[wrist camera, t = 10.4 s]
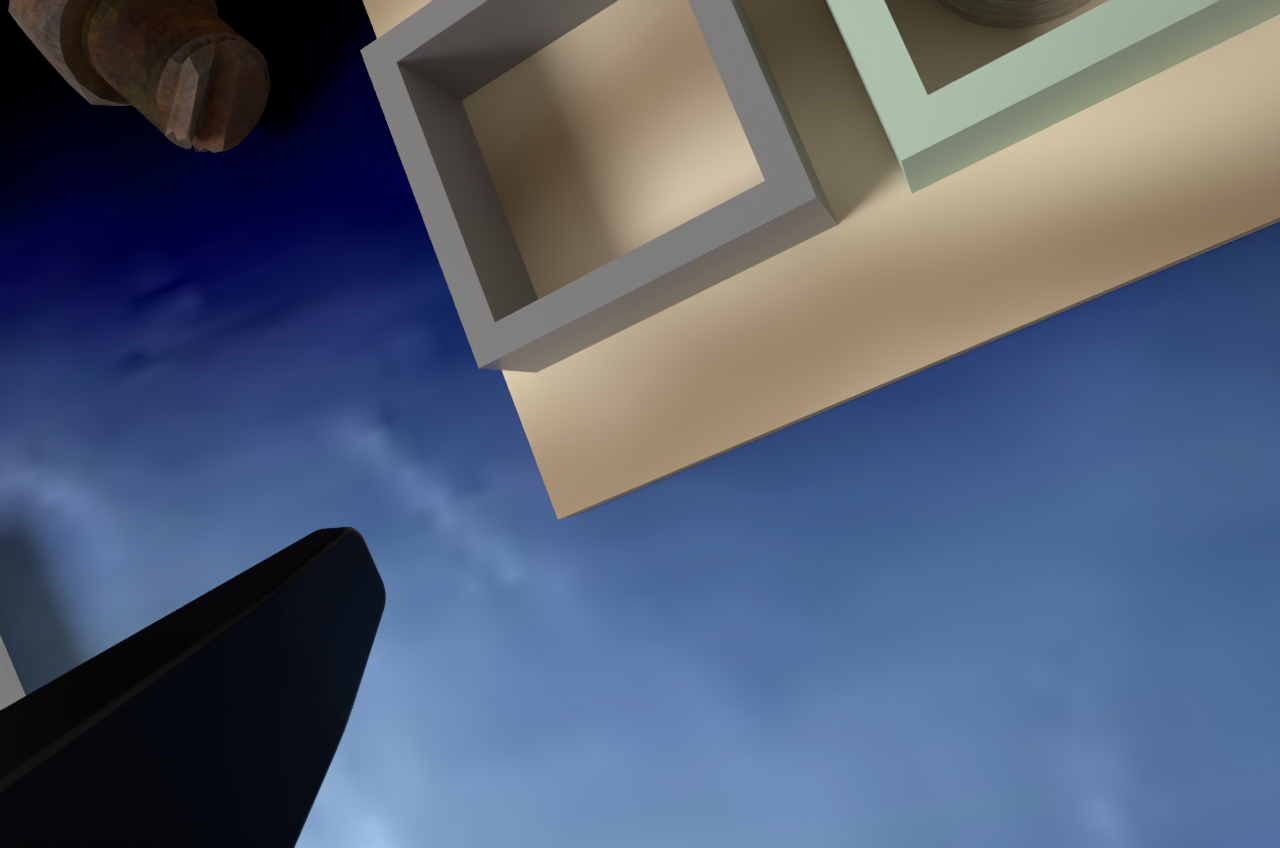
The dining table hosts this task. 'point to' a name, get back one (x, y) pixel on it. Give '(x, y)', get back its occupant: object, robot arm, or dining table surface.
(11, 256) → the dining table surface
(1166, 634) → the dining table surface
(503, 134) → the dock board
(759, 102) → the holder
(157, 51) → the bolt
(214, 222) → the dining table surface
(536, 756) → the dining table surface
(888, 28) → the socket
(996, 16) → the silver tall tapered cylinder
